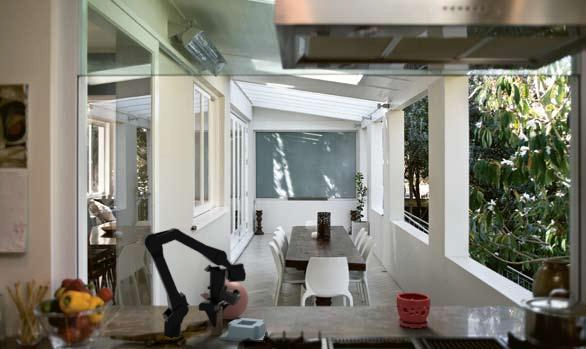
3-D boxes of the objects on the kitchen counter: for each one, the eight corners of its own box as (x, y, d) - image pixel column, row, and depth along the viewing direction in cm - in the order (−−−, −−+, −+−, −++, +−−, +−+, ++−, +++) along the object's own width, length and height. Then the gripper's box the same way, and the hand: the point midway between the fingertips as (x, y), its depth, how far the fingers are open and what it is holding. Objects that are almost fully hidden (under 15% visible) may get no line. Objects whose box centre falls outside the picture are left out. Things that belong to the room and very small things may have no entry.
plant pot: (389, 323, 204) (389, 294, 205) (414, 320, 210) (415, 291, 211) (411, 332, 193) (411, 300, 193) (437, 328, 199) (437, 297, 199)
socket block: (261, 343, 176) (261, 328, 176) (219, 339, 181) (219, 325, 181) (272, 334, 188) (273, 320, 188) (233, 330, 192) (233, 317, 192)
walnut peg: (219, 335, 185) (219, 308, 186) (209, 334, 186) (209, 307, 187) (223, 332, 189) (224, 305, 189) (214, 331, 190) (214, 304, 190)
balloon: (204, 313, 219) (205, 277, 220) (250, 314, 218) (251, 278, 218) (195, 322, 204) (196, 283, 204) (244, 323, 202) (245, 284, 203)
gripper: (226, 289, 177) (226, 334, 177) (246, 280, 195) (246, 321, 194) (198, 287, 180) (197, 331, 180) (220, 278, 198) (219, 318, 198)
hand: (216, 325), depth 188 cm, fingers closed on walnut peg, 4 cm apart
